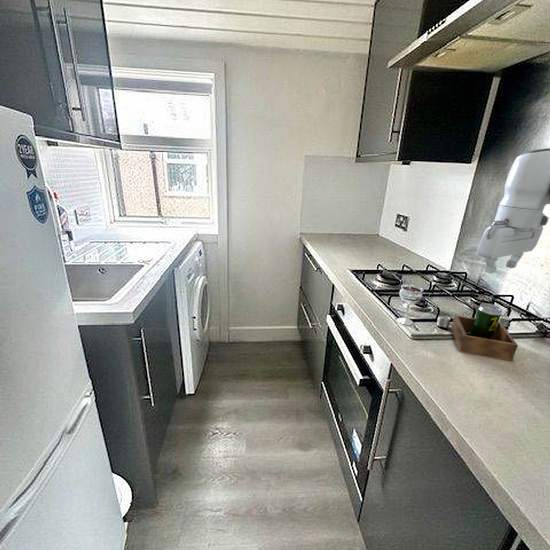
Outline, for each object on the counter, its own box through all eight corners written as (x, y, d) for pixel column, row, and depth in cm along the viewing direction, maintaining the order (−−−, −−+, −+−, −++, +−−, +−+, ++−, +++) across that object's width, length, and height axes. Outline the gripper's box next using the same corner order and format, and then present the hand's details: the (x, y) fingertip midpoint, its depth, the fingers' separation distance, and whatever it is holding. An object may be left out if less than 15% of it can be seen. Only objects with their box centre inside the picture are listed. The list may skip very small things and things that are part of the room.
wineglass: (393, 314, 104) (399, 282, 99) (414, 317, 102) (421, 285, 98) (394, 324, 97) (401, 290, 93) (417, 328, 96) (425, 293, 91)
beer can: (465, 342, 89) (476, 305, 85) (473, 336, 92) (484, 301, 88) (485, 351, 85) (497, 313, 81) (493, 345, 88) (505, 308, 84)
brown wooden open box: (496, 336, 92) (501, 322, 90) (512, 361, 81) (518, 345, 79) (450, 328, 96) (454, 314, 94) (459, 351, 85) (464, 335, 83)
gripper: (506, 223, 69) (489, 279, 74) (552, 218, 77) (534, 268, 82) (478, 218, 74) (464, 271, 79) (524, 213, 82) (509, 261, 87)
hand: (500, 269), depth 81 cm, fingers open, 8 cm apart
